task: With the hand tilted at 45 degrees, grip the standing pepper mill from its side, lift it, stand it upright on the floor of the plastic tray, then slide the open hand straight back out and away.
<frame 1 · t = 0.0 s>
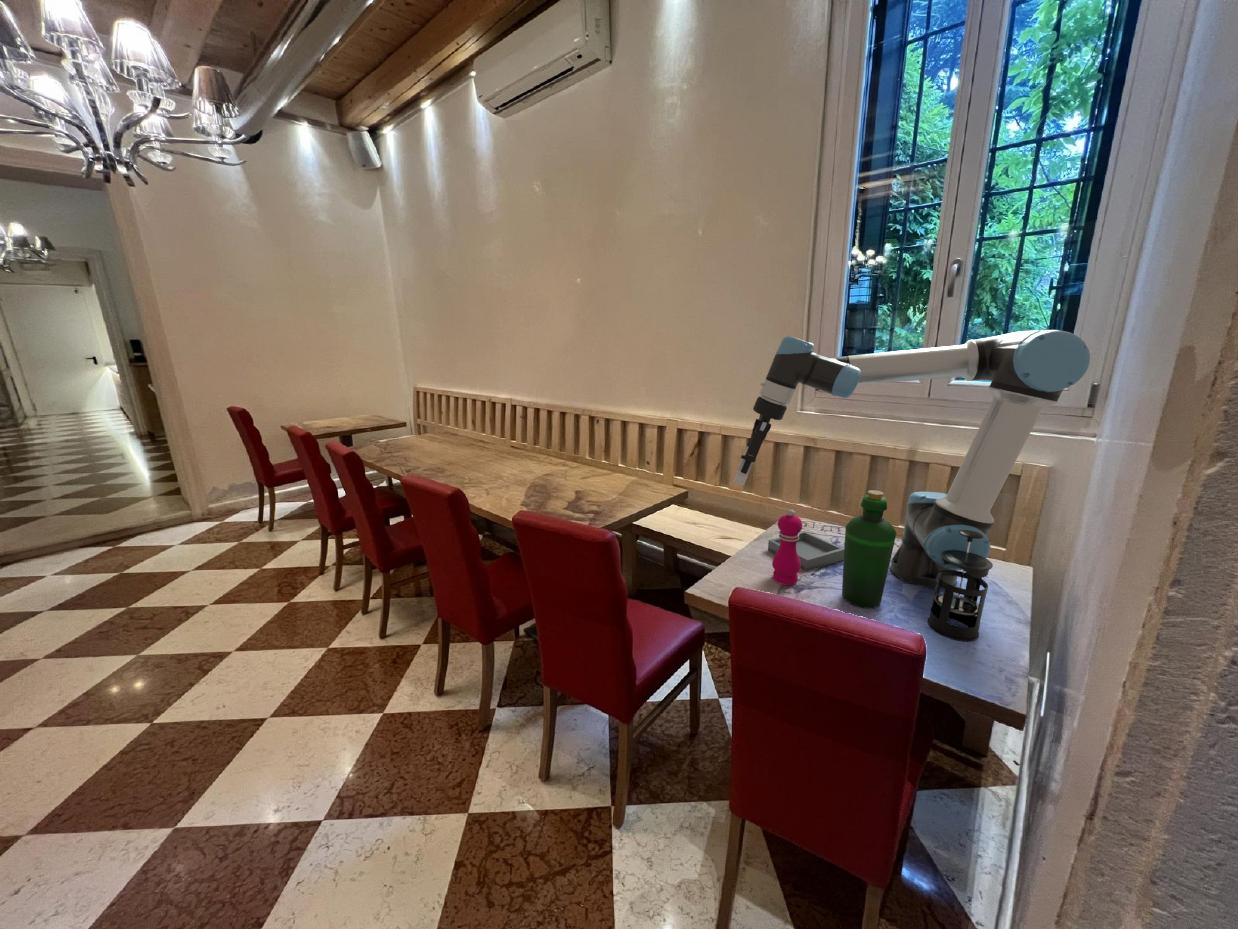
hand: (740, 476, 121), 28 cm above the table, tool tilted 20°, fingers open, 13 cm apart
tray: (804, 555, 138), on the table
pepper mill: (785, 580, 124), on the table
bottle: (860, 600, 114), on the table
french press: (953, 628, 102), on the table
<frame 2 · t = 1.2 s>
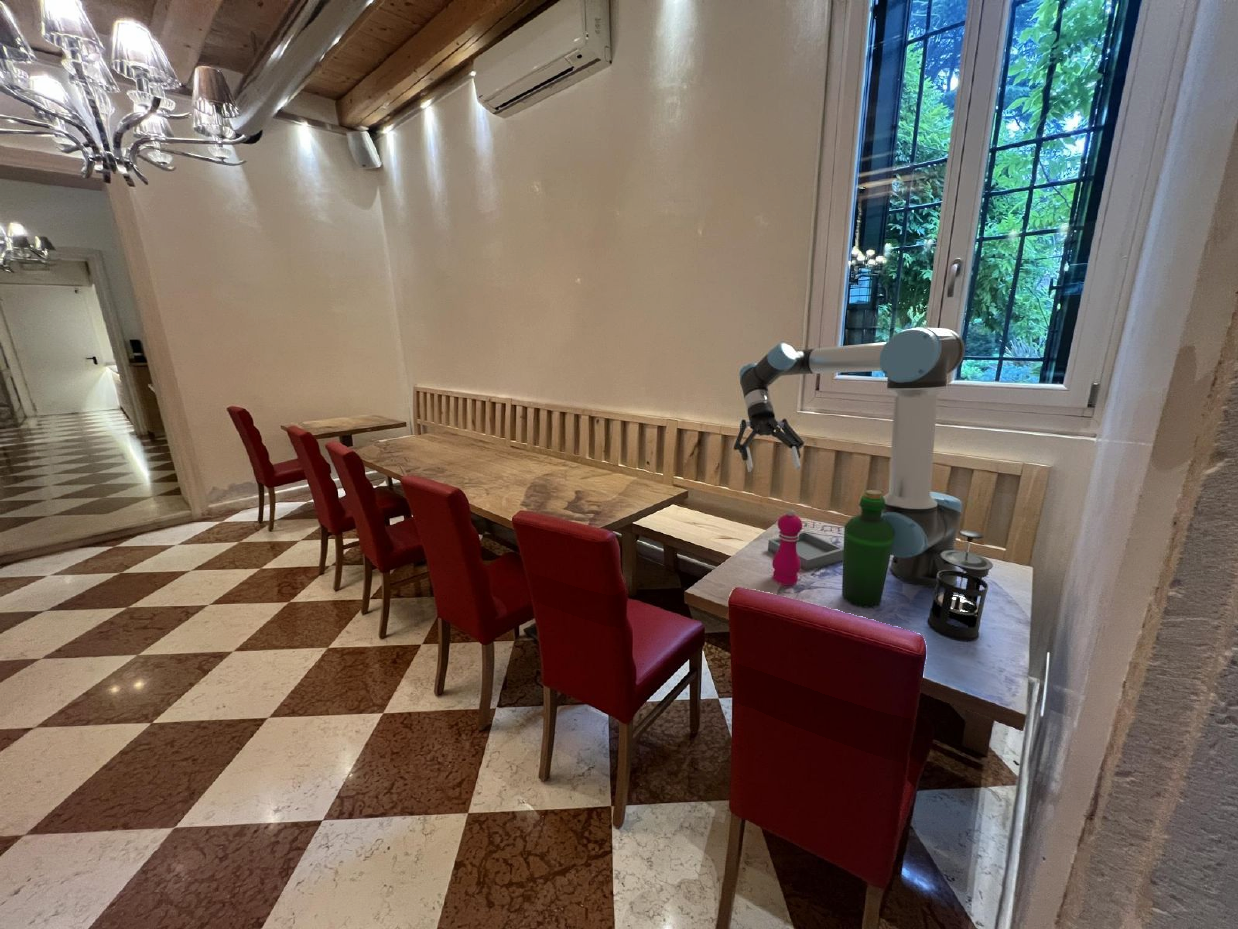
hand: (774, 469, 130), 27 cm above the table, tool tilted 45°, fingers open, 13 cm apart
bottle: (860, 600, 114), on the table, touching arm
everything else where it was.
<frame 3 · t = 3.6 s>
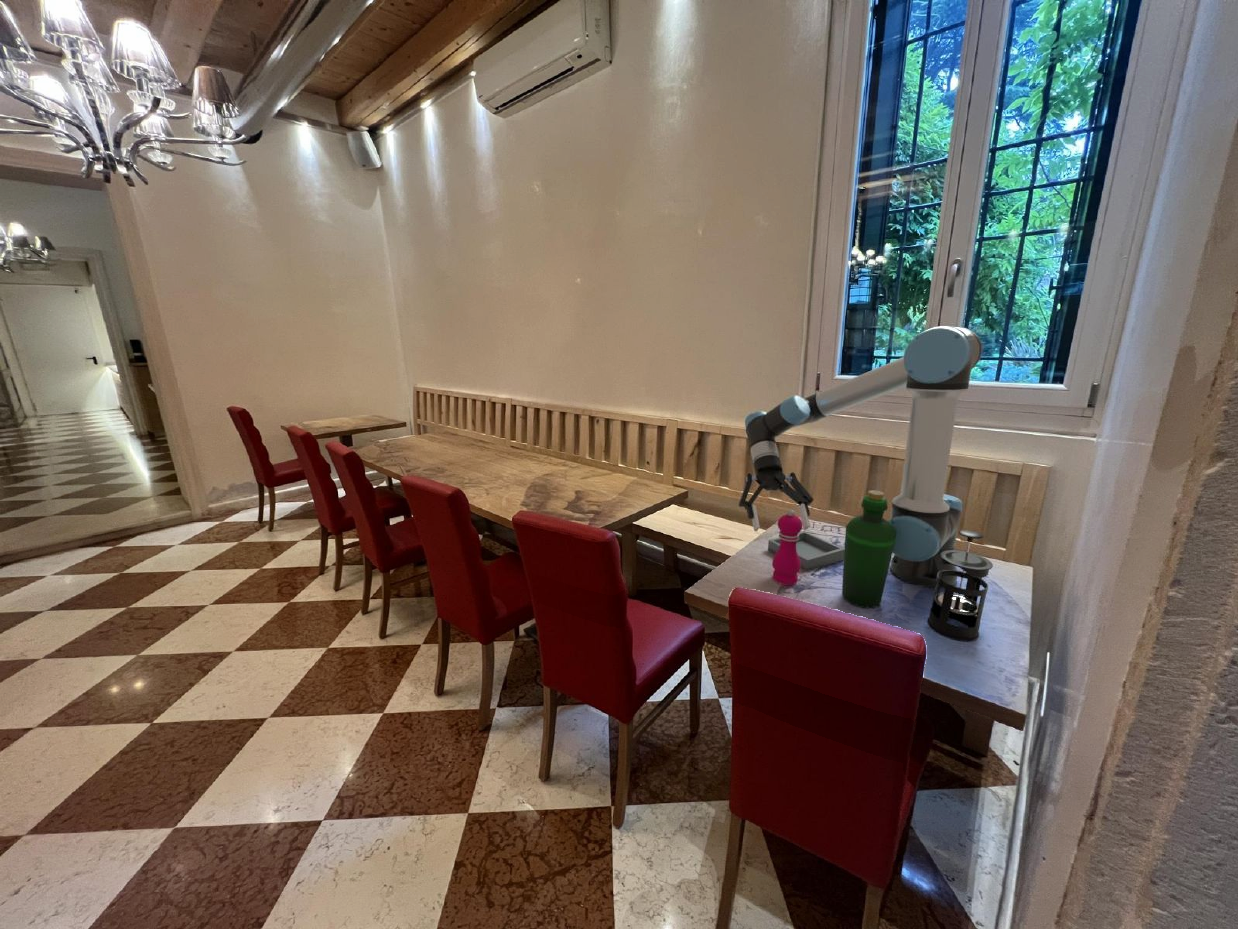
hand: (782, 528, 123), 13 cm above the table, tool tilted 45°, fingers open, 13 cm apart
bottle: (860, 600, 114), on the table
everything else where it was.
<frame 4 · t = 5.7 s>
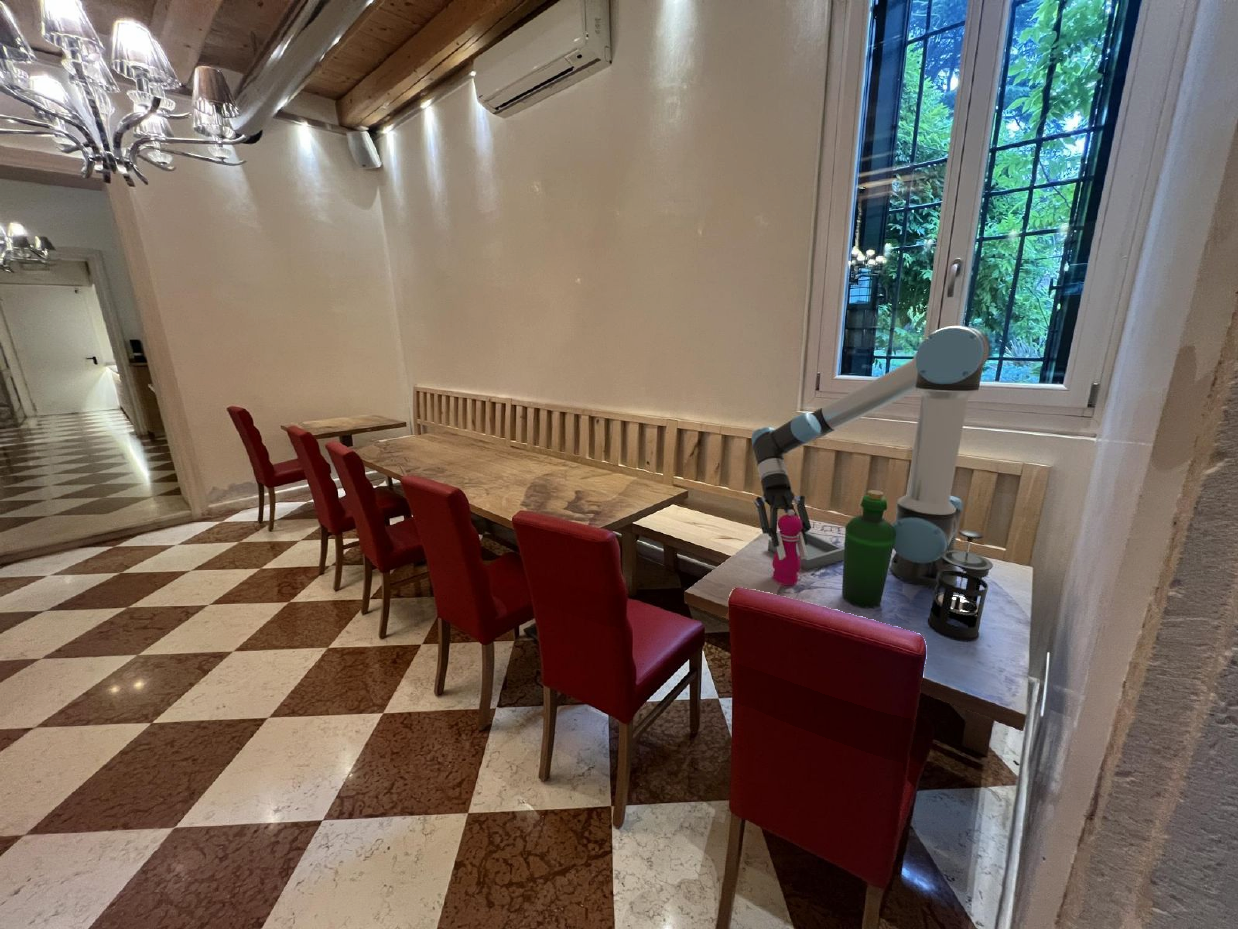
hand: (793, 557, 118), 8 cm above the table, tool tilted 45°, fingers closed on pepper mill, 5 cm apart
pepper mill: (785, 580, 124), on the table, touching gripper
everything else where it was.
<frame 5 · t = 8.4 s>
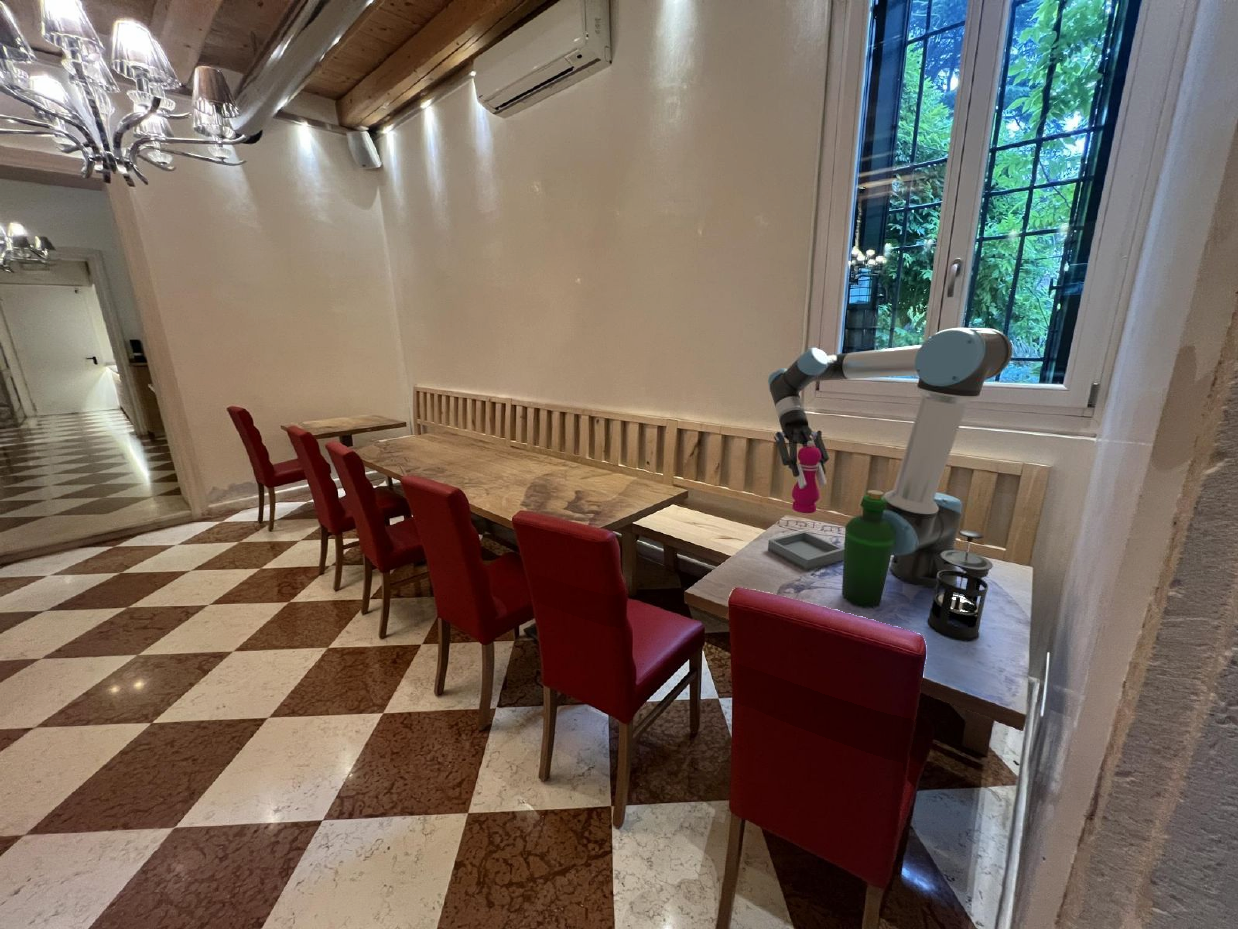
hand: (813, 485, 125), 24 cm above the table, tool tilted 45°, fingers closed on pepper mill, 5 cm apart
pepper mill: (803, 510, 131), point 16 cm above the table, touching gripper
everything else where it was.
when the fingers open (9 cm above the table, at t = 11.1 s): pepper mill stays where it is, resting on tray.
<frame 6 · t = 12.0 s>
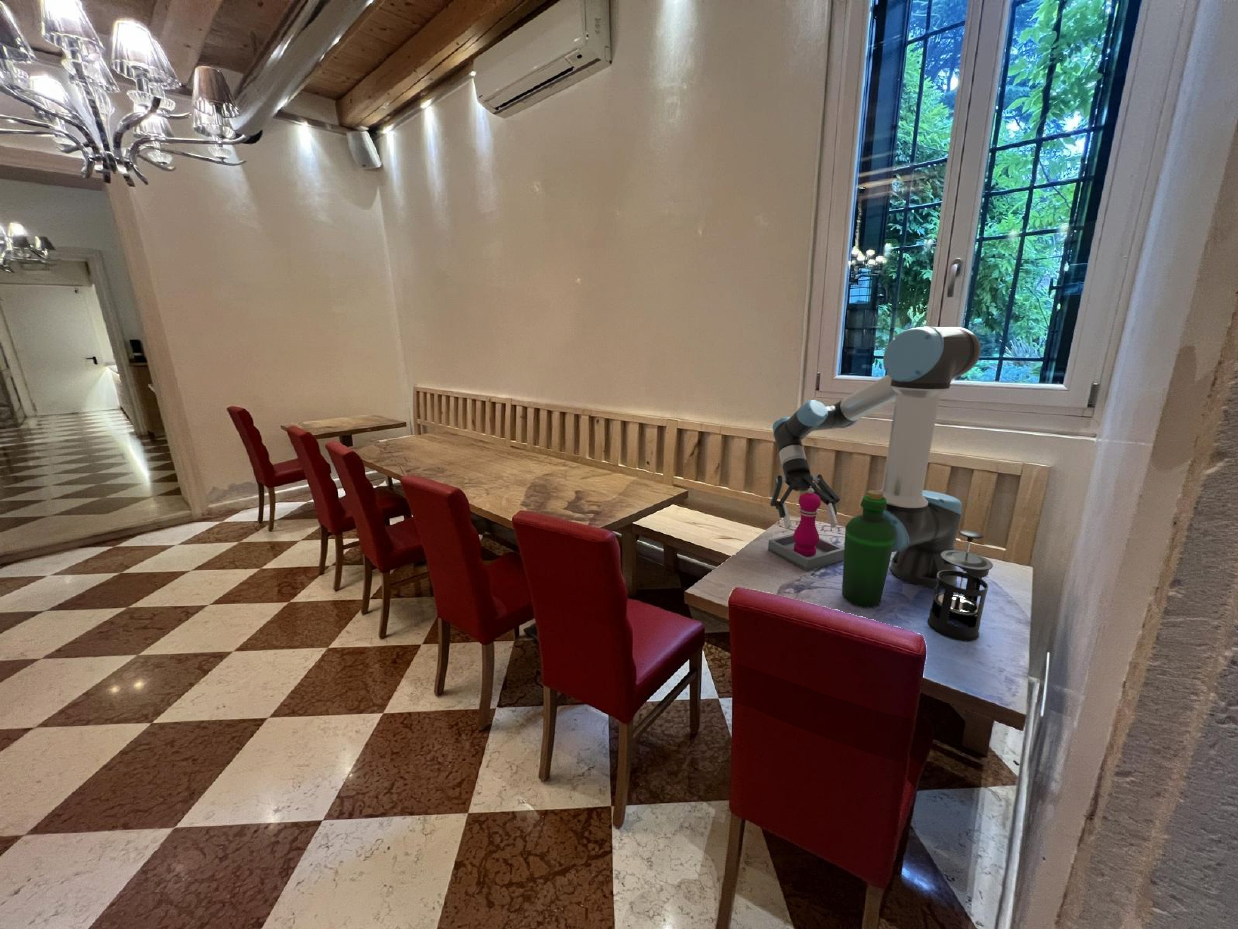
hand: (811, 526, 133), 10 cm above the table, tool tilted 45°, fingers open, 13 cm apart
pepper mill: (804, 552, 138), point 1 cm above the table, touching tray
everything else where it was.
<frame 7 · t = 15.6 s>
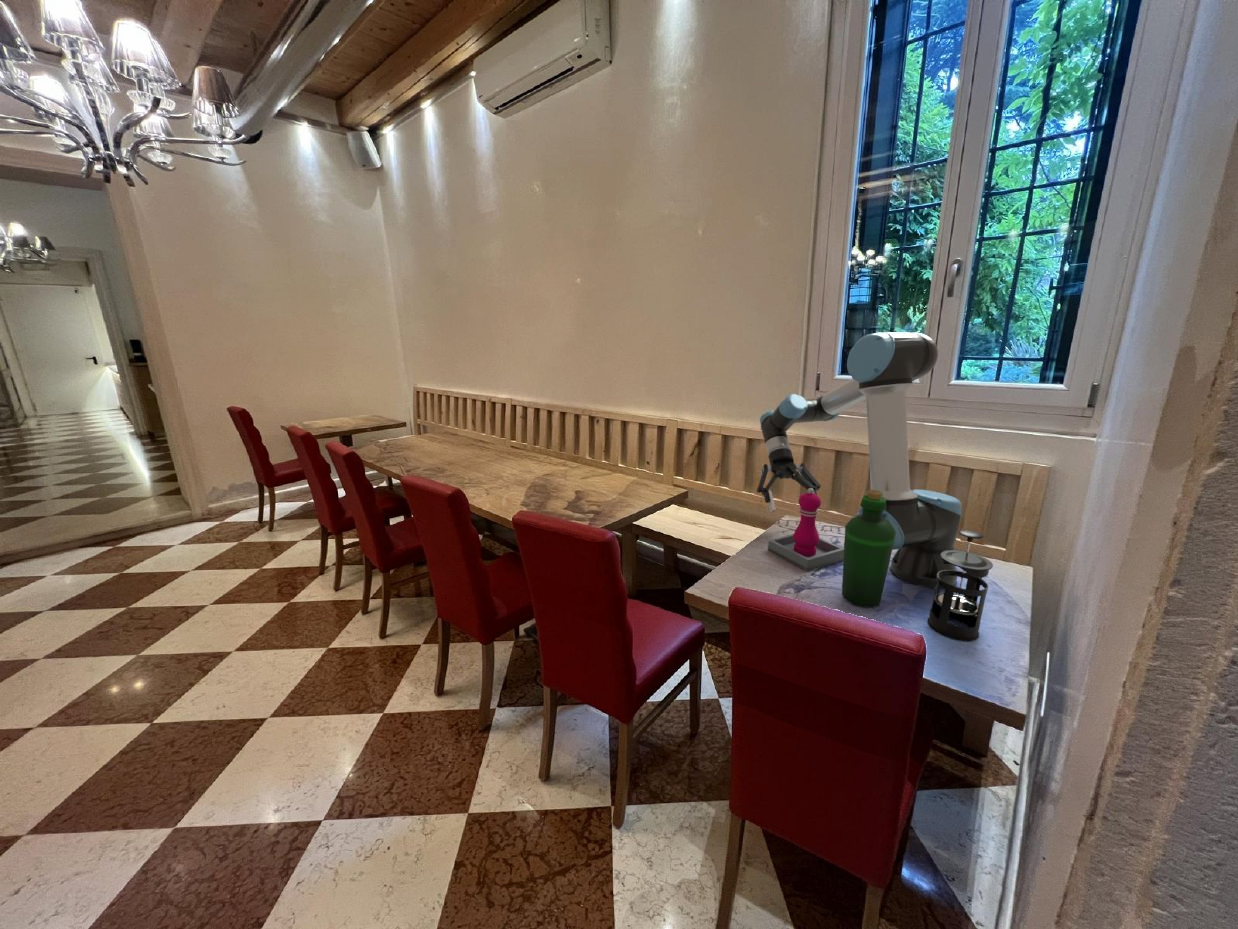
hand: (794, 510, 144), 11 cm above the table, tool tilted 45°, fingers open, 13 cm apart
bottle: (860, 600, 114), on the table, touching arm
everything else where it was.
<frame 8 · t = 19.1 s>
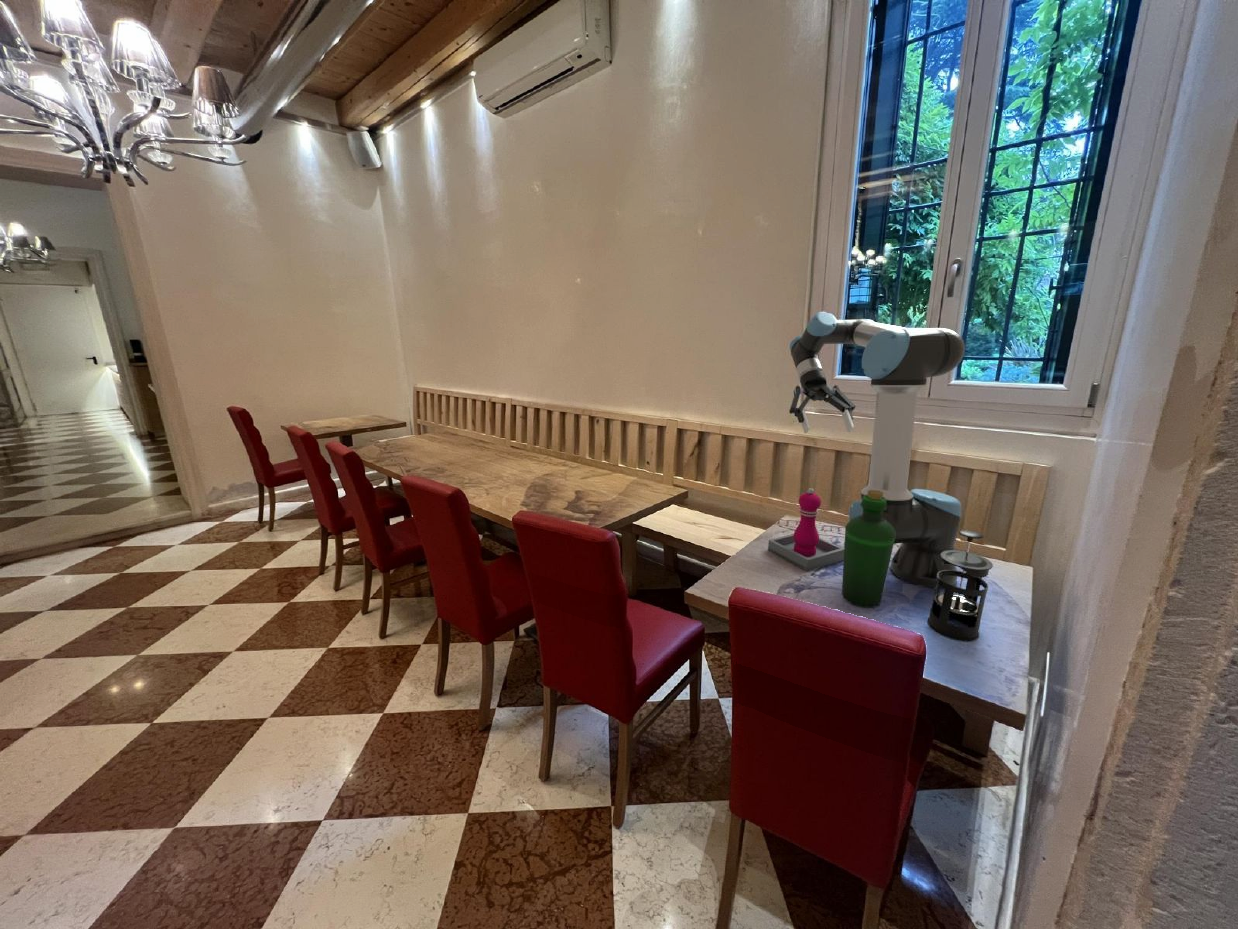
hand: (829, 430, 140), 36 cm above the table, tool tilted 45°, fingers open, 13 cm apart
bottle: (860, 600, 114), on the table
everything else where it was.
at the end: pepper mill inside the target area on the tray (0.3 cm from its centre), point 0.8 cm above the tray's base; pepper mill tilted 0°; the gripper is holding nothing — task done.
